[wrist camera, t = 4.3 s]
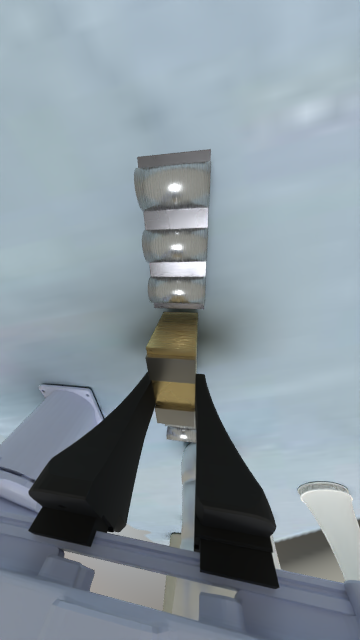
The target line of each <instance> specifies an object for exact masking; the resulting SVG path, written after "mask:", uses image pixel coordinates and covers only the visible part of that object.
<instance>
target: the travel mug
mask: <svg viewBox="0 0 360 640" xmlns="http://www.w3.org/2000/svg"><path fill="white" fill-rule="evenodd" d="M181 539H182V538H181V533H173V534H172V535H171V536H170V546H171V547H175V548H180V545H181ZM176 580H177V577H173V576H169V575H167V576H166V585H165V594H164V605H163V611H164V612H167V613H171V614H172V608H173V601H174V594H175V587H176Z"/></svg>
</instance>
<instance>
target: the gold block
mask: <svg viewBox="0 0 360 640" xmlns="http://www.w3.org/2000/svg"><path fill="white" fill-rule="evenodd" d="M197 327H198V313H188V312H163V314H162V316H161V318H160V320H159V322H158V324H157V326H156V328H155V330H154V332H153V334H152V336H151V338H150V340H149V342H148V344H147V346H146V350H147V355H146V362H147V368H148V373H149V379H150V380H152V385H153V391H154V396H155V402H156V405H155V412H156V418H157V423H162V424H171V425H179V426H188V427H194V425H195V380H196V368H197Z"/></svg>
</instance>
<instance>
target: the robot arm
mask: <svg viewBox="0 0 360 640" xmlns="http://www.w3.org/2000/svg"><path fill="white" fill-rule="evenodd" d="M39 389H40V391H41V392H42V394H43V396H44V397H45V400H44V401H43V402H42V403H41V404H40V405H39V406H38V407H37V408H36V409H35V410H34V411H33V412H32V413H31V414H30V415H29V416H28V417H27V418H26V419H25V420H24V421H23V422H22V423H21V424H20V425H19V426H18V427H17V428H16V429H15V430H14V431H13V432H12V433H11V434H10V435H9V436H8V437H7V438H6V439H5V440H4V441H3V442H2V444H1V445H0V640H360V581H357V580H347V581H345V582H344V583H340V582H335V581H331V580H326V579H321V578H317V577H312V576H307V575H303V574H298V573H293V572H288V571H284V570H279V569H275V565H274V560H273V556H272V553H273V547H272V543H271V539H270V536H271V535H272V534H273V533H274V531H275V529H276V524H275V520H274V517H273V514H272V511H271V508H270V505H269V503H268V501H267V498H266V496H265V494H264V491H263V489H262V488H261V486H260V485H259V483H258V482H257V481H256V479H255V478H254V476H253V475H252V473H251V472H250V470H249V469H248V467H247V466H246V464H245V462H244V461H243V459H242V458H241V456H240V455H239V453H238V451H237V449H236V448H235V446H234V444H233V443H232V441H231V439H230V437H229V436H228V434H227V432H226V430H225V428H224V426H223V424H222V422H221V420H220V418H219V416H218V414H217V411H216V409H215V407H214V404H213V402H212V399H211V396H210V393H209V390H208V387H207V383H206V379H205V375H204V374H196V380H195V424H196V479H195V518H194V551H190V550H185V549H180V548H175V547H171V546H166V545H161V544H157V543H152V542H147V541H142V540H137V539H133V538H128V537H123V536H119V535H114V534H110V533H107V531H108V532H114V531H115V532H120V531H121V530H122V529H123V528H124V527H125V526H126V523H127V517H128V512H129V507H130V502H131V497H132V492H133V487H134V482H135V478H136V473H137V468H138V464H139V460H140V455H141V451H142V447H143V443H144V439H145V435H146V432H147V429H148V426H149V423H150V420H151V417H152V414H153V411H154V408H155V404H156V402H155V396H154V391H153V385H152V380H150V379H149V373H148V372H147V373H146V375H145V376H144V377H143V378H142V380H141V381H140V382H139V383H138V385H137V386H136V387H135V388H134V389H133V390H132V392H131V393H130V394H129V395H128V396H127V397H126V398H125V399H124V400H123V401H122V403H121V404H120V405H119V406H118V407H117V408H116V409H115V410H114V411H112V412H111V413H110V414H109V415H108V416H107V417H106V418H105V419H103V417H102V415H101V412H100V410H99V408H98V405H97V403H96V401H95V398H94V396H93V394H92V391H91V390H90V389H88V388H78V387H67V386H56V385H45V384H41V385H40V386H39ZM64 551H68V552H72V553H76V554H80V555H84V556H88V557H93V558H97V559H101V560H105V561H110V562H114V563H118V564H123V565H127V566H131V567H135V568H140V569H144V570H148V571H152V572H156V573H160V574H165V575H169V576H173V577H177V578H182V579H186V580H190V581H194V582H199V583H203V584H207V585H211V586H215V587H220V588H224V589H228V590H232V591H237V593H236V594H235V597H234V598H231V597H228V596H223V595H217V594H211V593H205V592H201V593H200V594H199V620H198V621H197V620H193V619H189V618H186V617H182V616H178V615H175V614H171V613H167V612H164V611H160V610H156V609H153V608H149V607H145V606H141V605H138V604H134V603H130V602H126V601H122V600H119V599H115V598H112V597H108V596H104V595H100V594H96V593H93V592H90V586H91V583H92V580H93V577H94V574H95V572H94V570H93V569H90V568H87V567H85V566H83V565H82V564H81V563H79V562H76V561H73V560H69V559H66V558H64Z"/></svg>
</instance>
